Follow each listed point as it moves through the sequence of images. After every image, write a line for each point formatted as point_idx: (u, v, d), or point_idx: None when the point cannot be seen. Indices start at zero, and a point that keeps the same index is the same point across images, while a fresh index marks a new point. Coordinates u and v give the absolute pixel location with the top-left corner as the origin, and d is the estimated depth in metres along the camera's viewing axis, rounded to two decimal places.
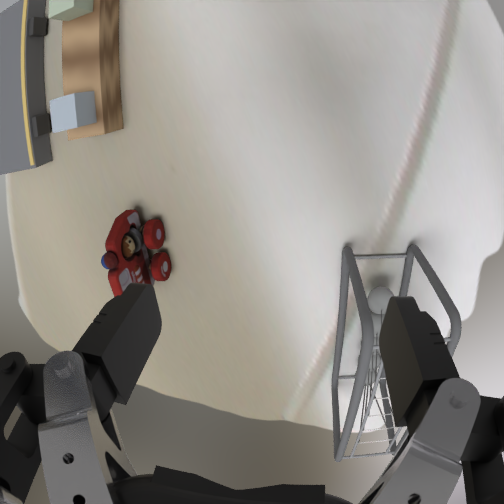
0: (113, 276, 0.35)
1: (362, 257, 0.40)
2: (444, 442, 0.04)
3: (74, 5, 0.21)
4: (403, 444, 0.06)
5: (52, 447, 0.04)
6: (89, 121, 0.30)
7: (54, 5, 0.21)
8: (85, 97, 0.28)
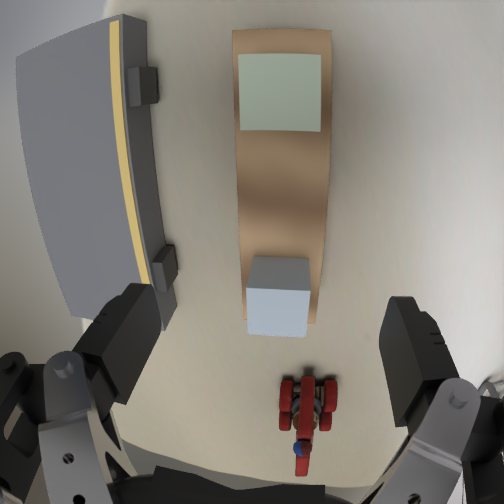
0: (304, 458, 0.29)
1: (494, 385, 0.34)
2: (444, 442, 0.04)
3: (320, 128, 0.15)
4: (403, 444, 0.06)
5: (52, 447, 0.04)
6: None
7: (258, 102, 0.14)
8: None
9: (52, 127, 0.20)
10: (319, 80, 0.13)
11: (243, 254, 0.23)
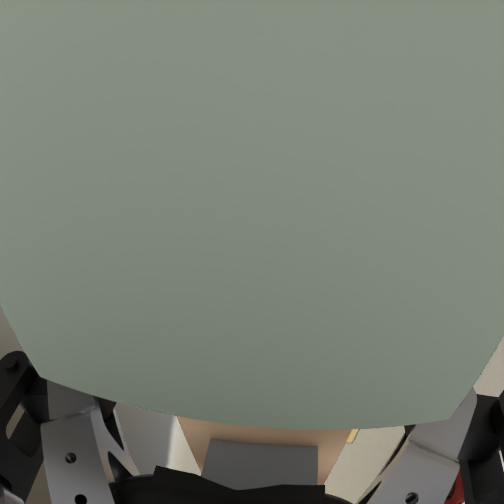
0: None
1: None
2: (440, 440, 0.04)
3: (451, 395, 0.02)
4: (400, 443, 0.06)
5: (55, 446, 0.04)
6: None
7: (47, 262, 0.02)
8: None
9: None
10: None
11: (191, 438, 0.10)
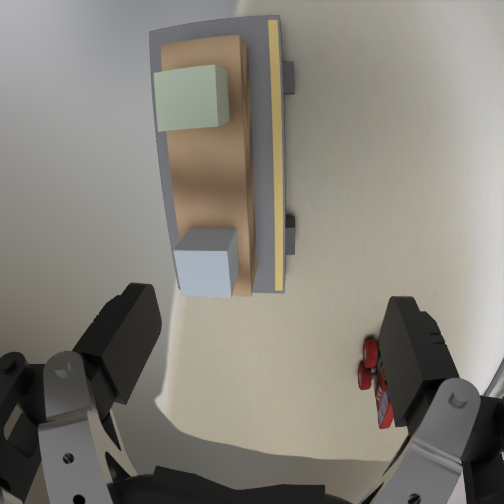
0: None
1: None
2: (444, 442, 0.04)
3: (218, 124, 0.18)
4: (403, 444, 0.06)
5: (52, 447, 0.04)
6: (236, 277, 0.26)
7: (169, 108, 0.18)
8: (232, 247, 0.24)
9: None
10: (214, 85, 0.17)
11: (180, 231, 0.26)
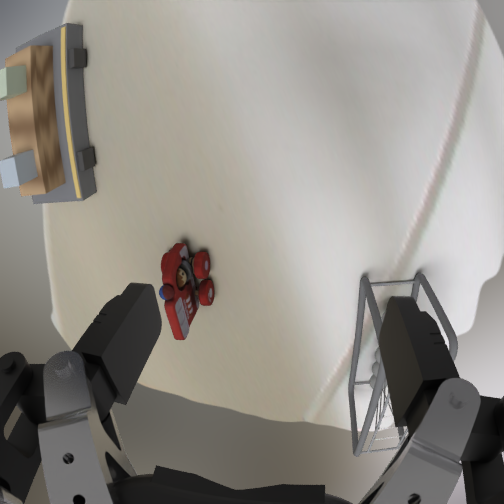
0: (170, 306, 0.42)
1: (377, 284, 0.47)
2: (444, 442, 0.04)
3: (7, 94, 0.26)
4: (403, 444, 0.06)
5: (52, 447, 0.04)
6: (30, 177, 0.34)
7: None
8: (24, 158, 0.32)
9: None
10: (5, 76, 0.25)
11: None
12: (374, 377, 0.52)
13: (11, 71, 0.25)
